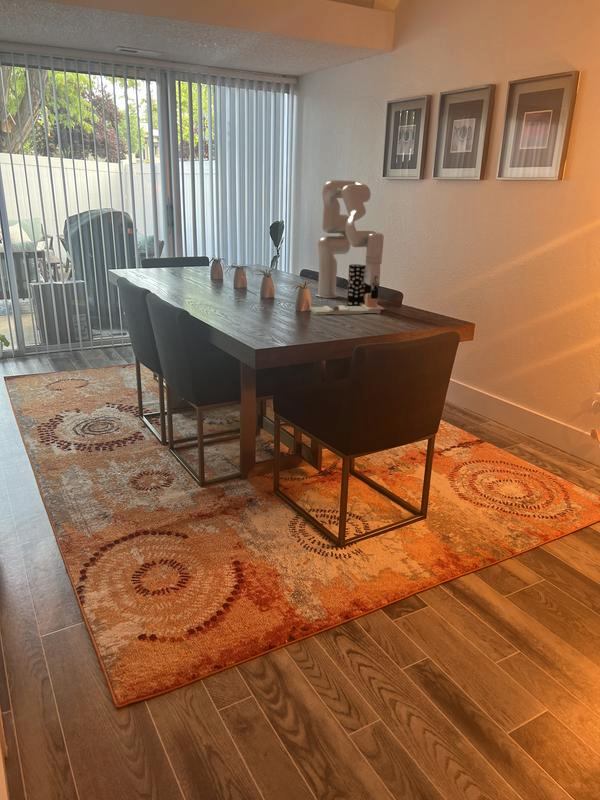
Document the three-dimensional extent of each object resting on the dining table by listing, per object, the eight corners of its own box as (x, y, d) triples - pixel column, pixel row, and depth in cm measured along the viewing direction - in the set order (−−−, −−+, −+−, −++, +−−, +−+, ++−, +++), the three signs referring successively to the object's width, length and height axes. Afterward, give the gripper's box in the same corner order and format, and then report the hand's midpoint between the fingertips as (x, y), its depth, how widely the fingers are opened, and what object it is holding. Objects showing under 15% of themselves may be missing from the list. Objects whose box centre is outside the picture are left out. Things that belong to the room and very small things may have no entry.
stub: (361, 305, 294) (362, 292, 292) (376, 305, 296) (377, 291, 294) (368, 309, 285) (369, 295, 283) (384, 309, 287) (385, 295, 285)
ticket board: (309, 310, 289) (309, 302, 288) (371, 308, 297) (372, 301, 296) (316, 315, 278) (316, 307, 277) (380, 313, 286) (381, 305, 285)
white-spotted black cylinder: (347, 307, 299) (349, 266, 292) (346, 303, 307) (348, 264, 300) (364, 307, 299) (366, 266, 292) (362, 304, 307) (365, 264, 300)
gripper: (360, 257, 290) (357, 292, 296) (372, 263, 274) (369, 300, 280) (374, 257, 291) (371, 292, 298) (388, 263, 276) (384, 300, 282)
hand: (370, 296), depth 289 cm, fingers open, 9 cm apart
